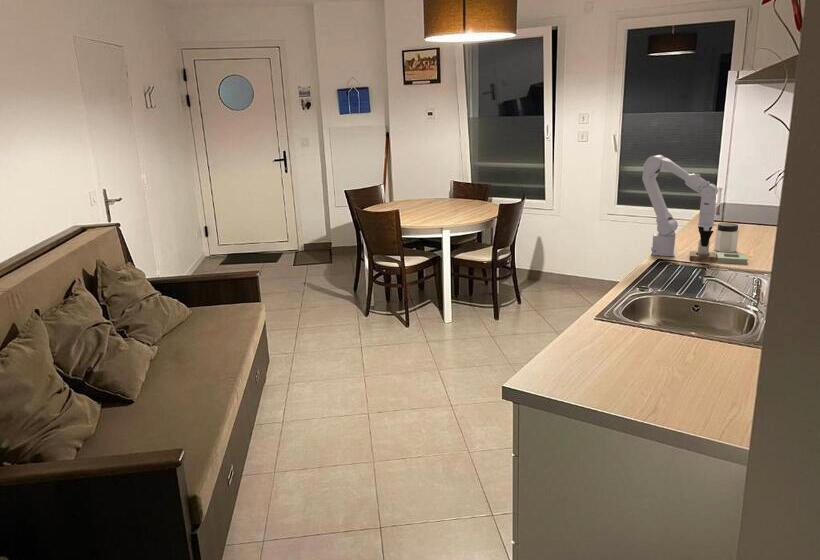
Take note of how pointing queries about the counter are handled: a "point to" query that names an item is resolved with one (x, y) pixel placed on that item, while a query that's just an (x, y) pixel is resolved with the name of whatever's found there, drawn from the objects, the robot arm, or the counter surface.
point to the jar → (726, 237)
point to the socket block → (702, 256)
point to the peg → (703, 249)
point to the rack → (731, 258)
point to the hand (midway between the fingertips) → (704, 244)
